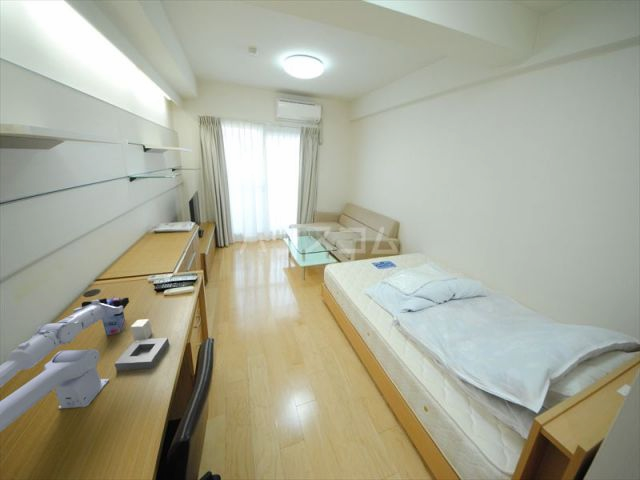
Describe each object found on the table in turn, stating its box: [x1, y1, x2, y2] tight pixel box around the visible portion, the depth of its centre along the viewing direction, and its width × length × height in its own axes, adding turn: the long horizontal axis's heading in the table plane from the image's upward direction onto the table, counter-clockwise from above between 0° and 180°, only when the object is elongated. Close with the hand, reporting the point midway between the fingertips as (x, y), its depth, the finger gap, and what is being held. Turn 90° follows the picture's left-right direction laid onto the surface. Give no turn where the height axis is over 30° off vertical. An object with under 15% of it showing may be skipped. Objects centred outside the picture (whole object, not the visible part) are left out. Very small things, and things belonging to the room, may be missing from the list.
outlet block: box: [114, 337, 170, 371], centre depth 91 cm, size 12×12×3 cm
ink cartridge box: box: [101, 296, 126, 336], centre depth 104 cm, size 10×6×14 cm, turn 29°
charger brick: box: [130, 318, 153, 342], centre depth 101 cm, size 5×4×7 cm
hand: (116, 300), depth 90 cm, fingers open, 7 cm apart
